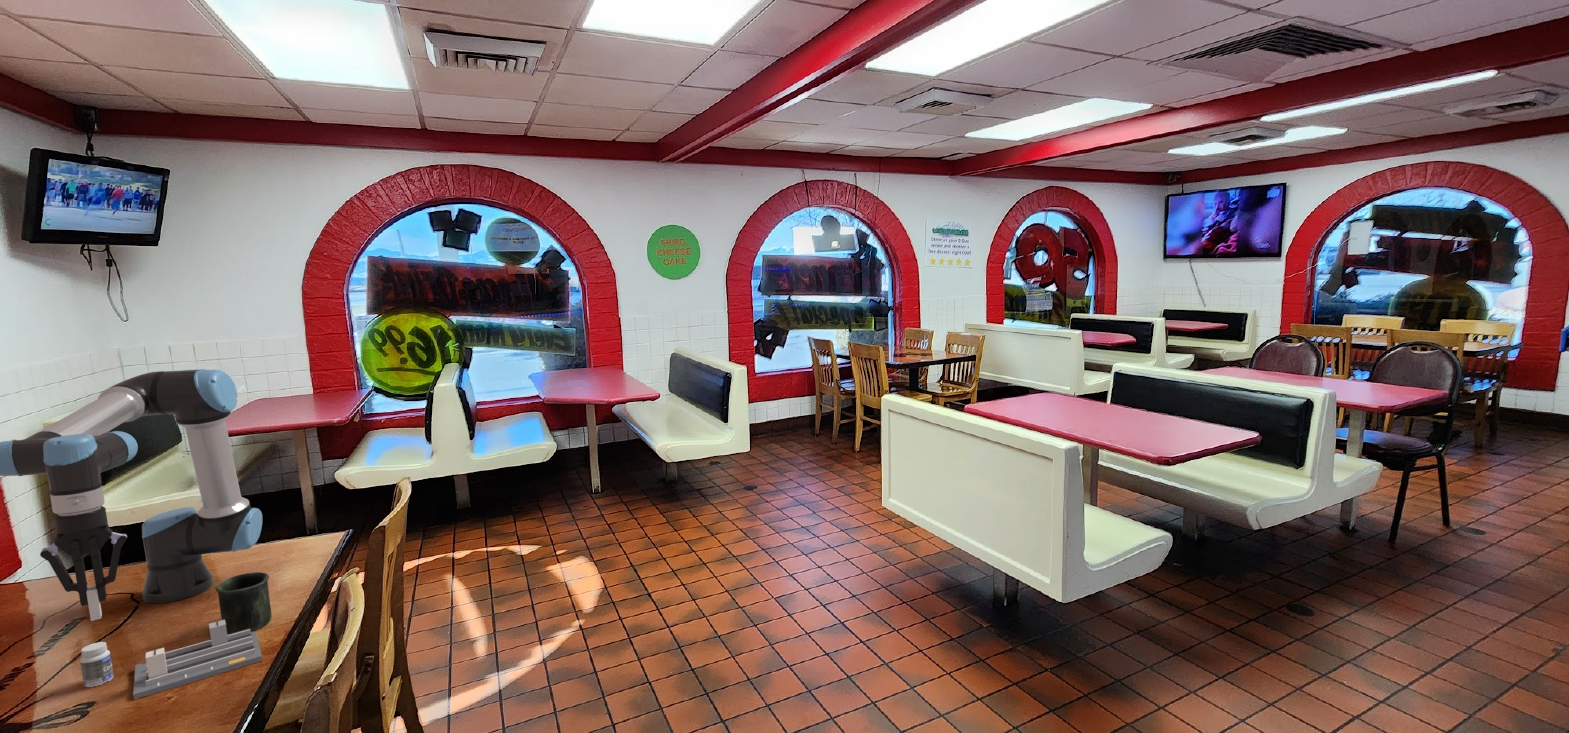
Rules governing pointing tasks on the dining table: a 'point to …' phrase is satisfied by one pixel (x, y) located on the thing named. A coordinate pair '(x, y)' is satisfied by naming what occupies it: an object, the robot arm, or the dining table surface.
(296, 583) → the dining table surface
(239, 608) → the mug
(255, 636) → the console
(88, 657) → the pill bottle
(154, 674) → the fader cap
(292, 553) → the dining table surface
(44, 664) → the dining table surface
